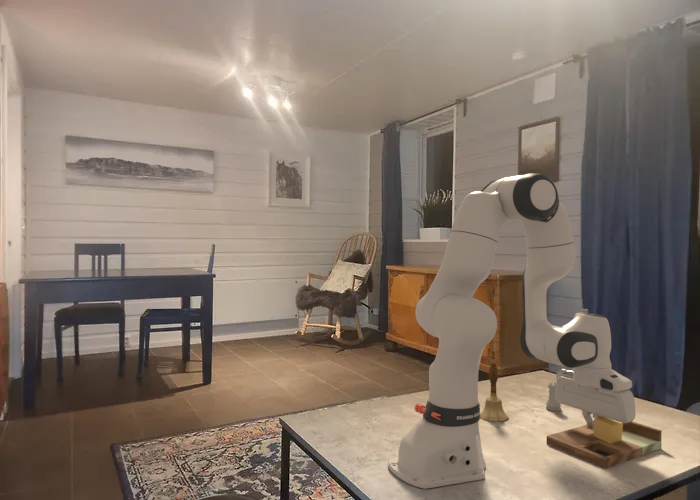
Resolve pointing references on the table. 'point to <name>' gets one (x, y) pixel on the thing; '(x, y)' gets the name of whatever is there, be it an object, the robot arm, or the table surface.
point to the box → (608, 444)
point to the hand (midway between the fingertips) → (592, 429)
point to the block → (608, 429)
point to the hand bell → (493, 400)
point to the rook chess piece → (552, 399)
